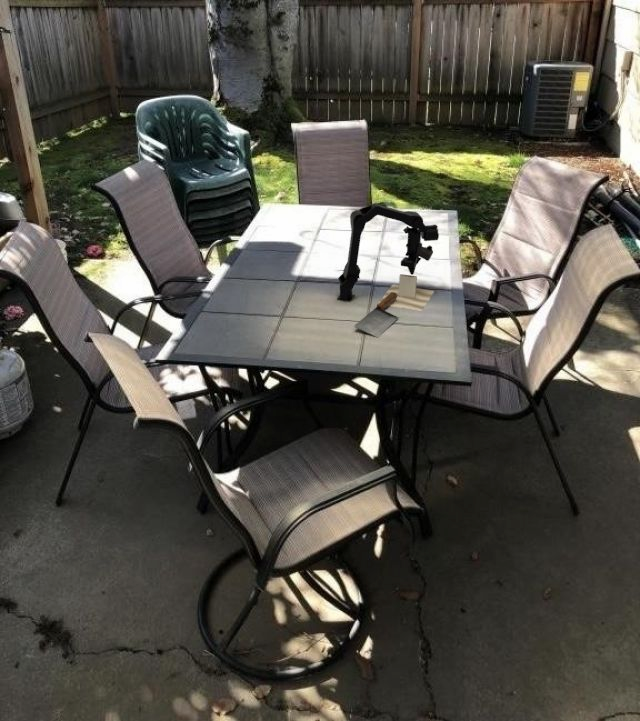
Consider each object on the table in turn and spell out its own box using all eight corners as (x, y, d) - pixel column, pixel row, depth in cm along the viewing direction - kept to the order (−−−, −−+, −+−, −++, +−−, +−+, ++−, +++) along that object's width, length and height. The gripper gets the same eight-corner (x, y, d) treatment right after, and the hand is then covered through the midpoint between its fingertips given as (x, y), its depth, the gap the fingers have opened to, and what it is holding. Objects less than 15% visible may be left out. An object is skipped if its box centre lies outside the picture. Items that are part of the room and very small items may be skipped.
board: (421, 313, 283) (421, 311, 282) (377, 306, 290) (377, 304, 289) (434, 292, 300) (434, 290, 299) (392, 286, 307) (392, 284, 306)
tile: (414, 298, 293) (415, 277, 288) (398, 295, 296) (399, 275, 290) (415, 296, 294) (416, 276, 289) (399, 294, 297) (400, 274, 292)
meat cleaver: (378, 337, 265) (378, 328, 263) (353, 330, 270) (353, 322, 268) (413, 303, 289) (413, 295, 287) (390, 298, 294) (390, 290, 292)
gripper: (426, 251, 278) (424, 285, 286) (437, 236, 293) (434, 269, 301) (401, 247, 282) (399, 281, 290) (413, 233, 297) (411, 265, 305)
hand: (412, 274), depth 296 cm, fingers closed
